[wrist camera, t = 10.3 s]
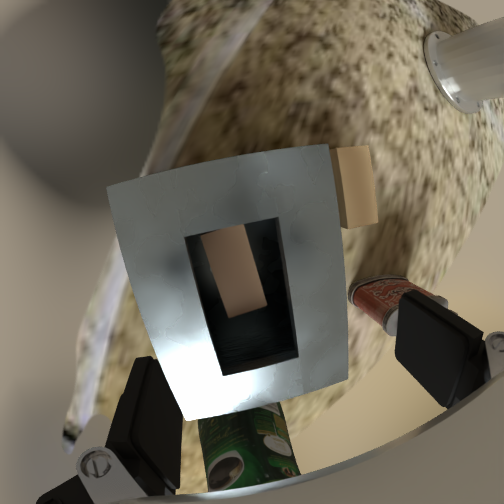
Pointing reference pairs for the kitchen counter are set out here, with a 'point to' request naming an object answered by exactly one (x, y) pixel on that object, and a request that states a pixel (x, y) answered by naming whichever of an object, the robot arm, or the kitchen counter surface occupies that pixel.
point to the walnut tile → (234, 269)
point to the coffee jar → (246, 448)
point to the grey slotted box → (268, 267)
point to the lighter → (385, 298)
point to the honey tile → (354, 186)
